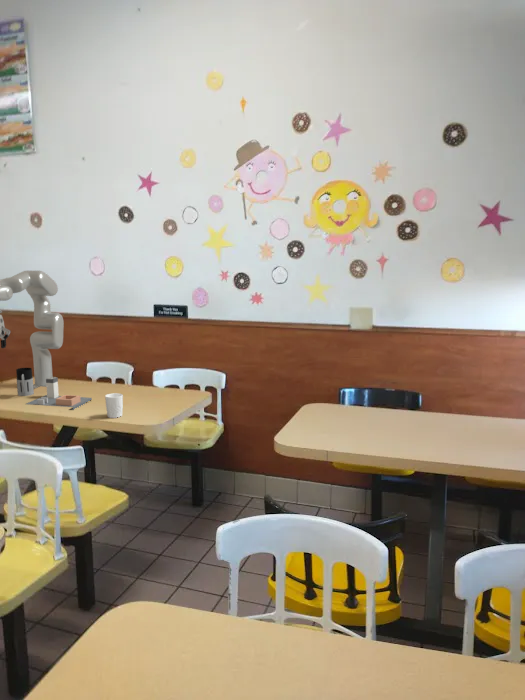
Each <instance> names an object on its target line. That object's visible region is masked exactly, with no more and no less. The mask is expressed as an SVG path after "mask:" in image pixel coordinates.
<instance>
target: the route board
mask: <svg viewBox="0 0 525 700" xmlns="http://www.w3.org/2000/svg"><path fill="white" fill-rule="evenodd" d="M90 400H92V397H83V396H81V395H75V394H73V395H72V394H64V395H59V396H58V397H56V398H47V394H45V395H43V396H40V397H38V398H36V399H33V400H31V401H29V402H26V403H25V405H30V406H31V405H32V406H46V407H47V406H49V407H67V408H69V409H68V411H74V409H75V408H77V407H78V408H80V407H82V406H84V405H86V404H87V403H86V402H88V401H90ZM90 402H91V401H90ZM85 403H86V404H85ZM88 403H89V402H88ZM83 404H84V405H83ZM81 405H82V406H81ZM79 406H80V407H79ZM78 408H77V409H78ZM75 410H76V409H75Z"/></svg>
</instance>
